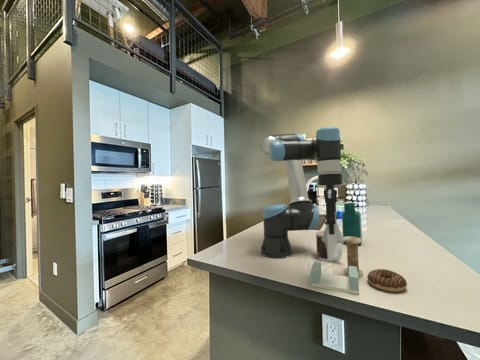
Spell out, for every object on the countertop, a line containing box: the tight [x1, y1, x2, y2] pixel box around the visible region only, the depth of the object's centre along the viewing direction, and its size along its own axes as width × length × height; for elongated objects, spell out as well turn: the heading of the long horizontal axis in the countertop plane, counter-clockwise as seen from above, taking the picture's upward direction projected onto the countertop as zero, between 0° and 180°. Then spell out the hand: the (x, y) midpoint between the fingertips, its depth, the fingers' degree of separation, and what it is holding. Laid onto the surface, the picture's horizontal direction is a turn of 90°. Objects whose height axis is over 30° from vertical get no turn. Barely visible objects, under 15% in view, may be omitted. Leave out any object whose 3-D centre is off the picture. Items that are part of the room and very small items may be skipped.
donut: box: [366, 268, 408, 293], centre depth 69 cm, size 11×11×4 cm
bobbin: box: [343, 236, 364, 278], centre depth 78 cm, size 6×6×13 cm
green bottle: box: [341, 202, 363, 246], centre depth 113 cm, size 10×8×22 cm
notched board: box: [310, 261, 360, 295], centre depth 71 cm, size 14×9×5 cm, turn 64°
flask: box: [322, 211, 344, 244], centre depth 72 cm, size 7×7×10 cm
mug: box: [315, 229, 343, 262], centre depth 94 cm, size 10×12×11 cm
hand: (332, 240), depth 72 cm, fingers closed on flask, 7 cm apart
